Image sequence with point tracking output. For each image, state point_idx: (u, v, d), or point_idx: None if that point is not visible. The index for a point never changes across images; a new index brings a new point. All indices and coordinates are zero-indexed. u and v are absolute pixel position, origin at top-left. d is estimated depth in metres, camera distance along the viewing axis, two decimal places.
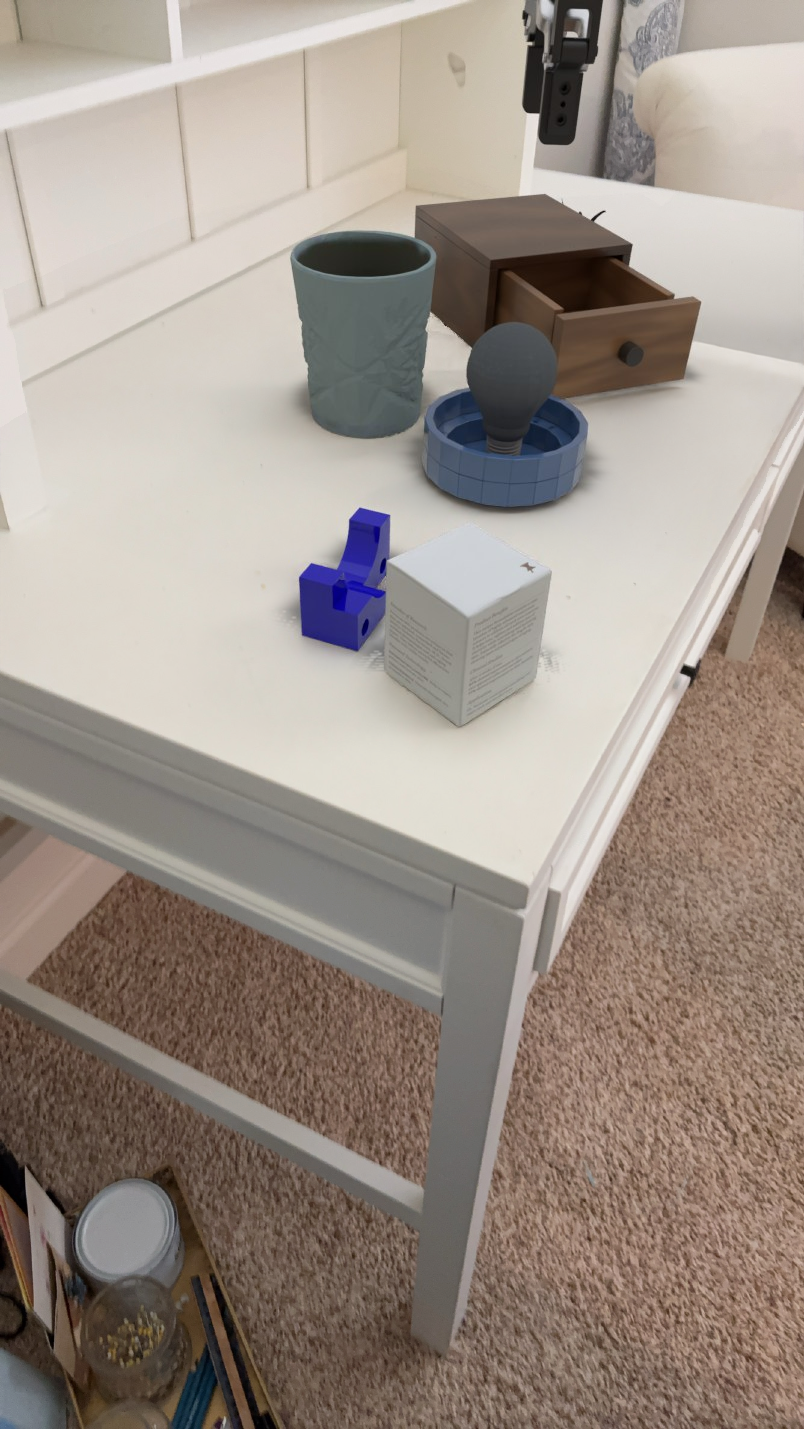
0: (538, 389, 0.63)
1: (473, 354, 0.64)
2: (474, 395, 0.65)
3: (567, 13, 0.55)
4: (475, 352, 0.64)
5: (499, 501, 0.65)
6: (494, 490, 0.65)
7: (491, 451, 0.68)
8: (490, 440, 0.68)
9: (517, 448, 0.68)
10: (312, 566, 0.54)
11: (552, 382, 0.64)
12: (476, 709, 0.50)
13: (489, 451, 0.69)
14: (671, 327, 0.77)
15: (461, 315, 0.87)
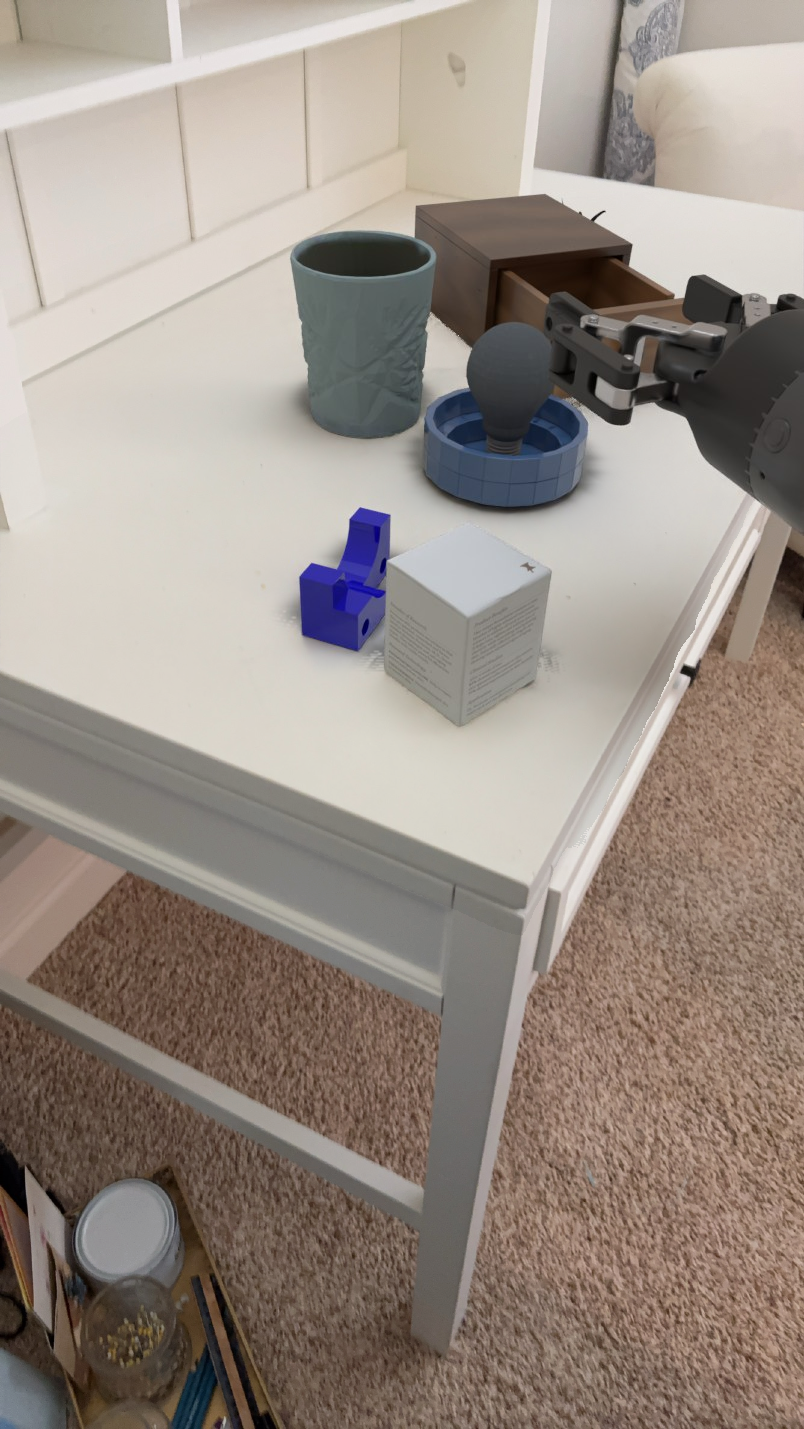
0: (538, 389, 0.63)
1: (473, 354, 0.64)
2: (474, 395, 0.65)
3: (625, 355, 0.46)
4: (475, 352, 0.64)
5: (499, 501, 0.65)
6: (494, 490, 0.65)
7: (491, 451, 0.68)
8: (490, 440, 0.68)
9: (517, 448, 0.68)
10: (312, 566, 0.54)
11: None
12: (476, 709, 0.50)
13: (489, 451, 0.69)
14: None
15: (461, 315, 0.87)
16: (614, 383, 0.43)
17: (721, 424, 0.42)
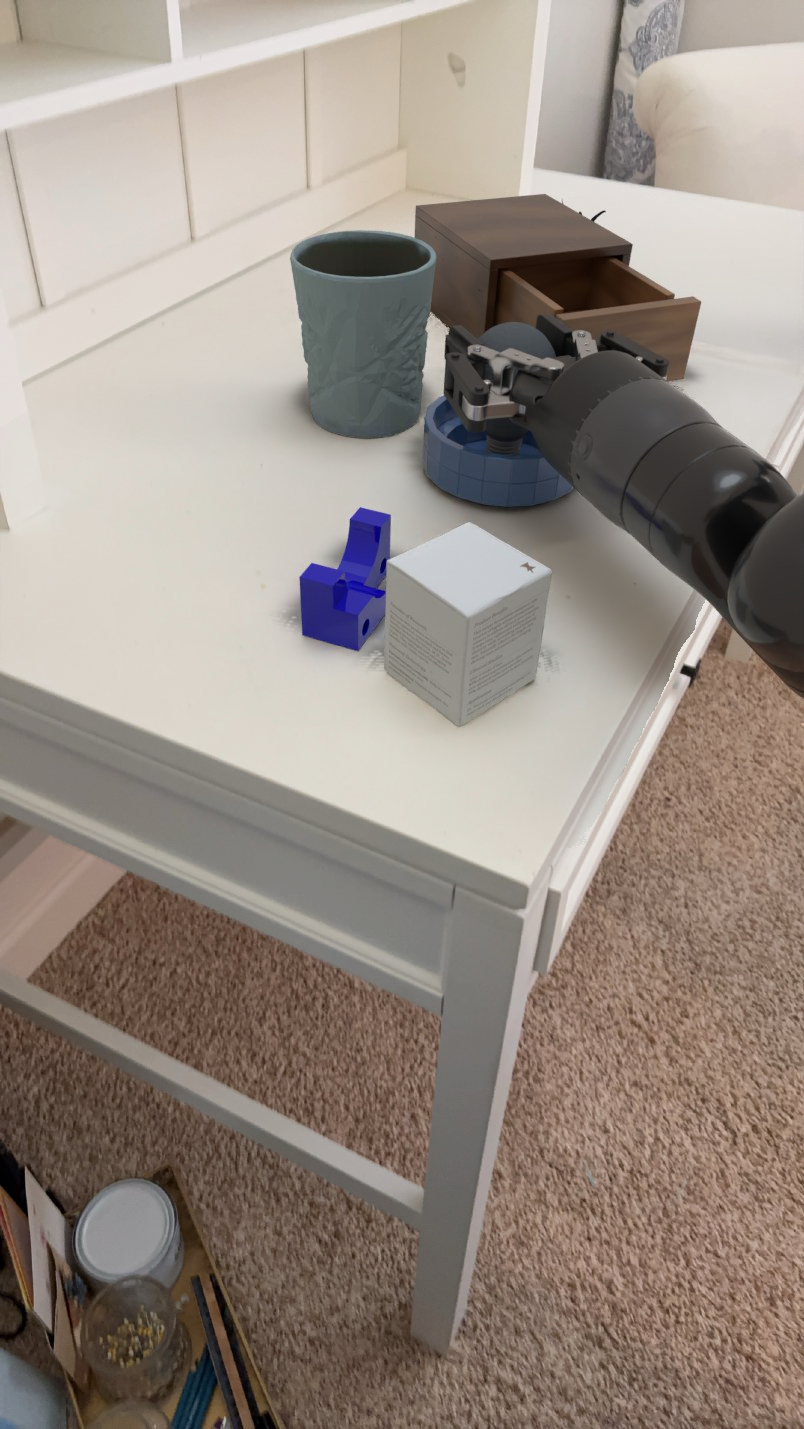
0: None
1: None
2: None
3: None
4: None
5: (499, 501, 0.65)
6: (494, 490, 0.65)
7: (491, 451, 0.68)
8: (490, 440, 0.68)
9: (517, 448, 0.68)
10: (313, 566, 0.54)
11: None
12: (476, 709, 0.50)
13: (489, 451, 0.69)
14: (671, 327, 0.77)
15: (461, 315, 0.87)
16: (468, 400, 0.57)
17: (552, 437, 0.55)
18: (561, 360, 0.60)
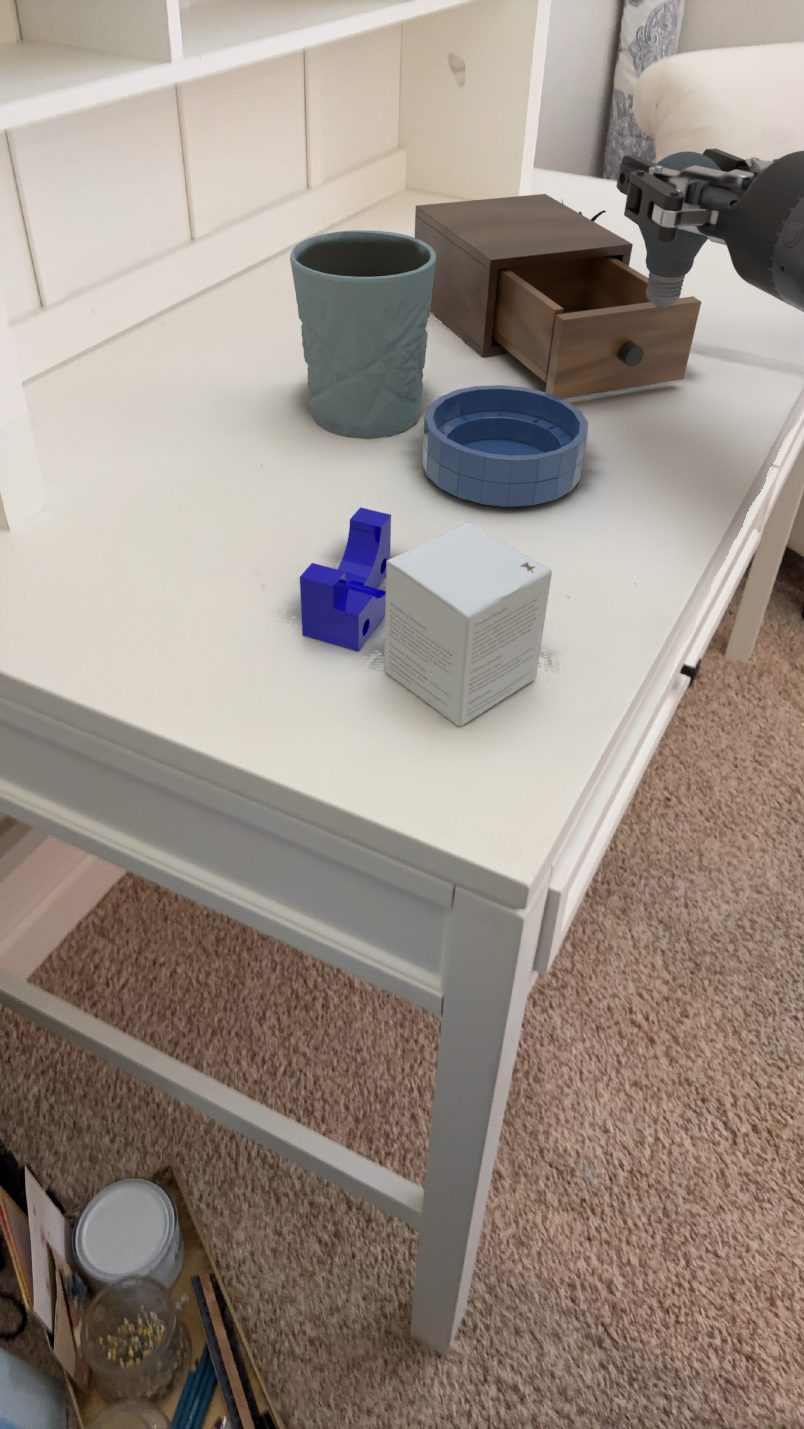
0: None
1: None
2: None
3: None
4: None
5: (499, 501, 0.65)
6: (494, 490, 0.65)
7: (653, 289, 0.70)
8: (653, 278, 0.69)
9: (679, 286, 0.69)
10: (313, 566, 0.54)
11: None
12: (476, 709, 0.50)
13: (651, 290, 0.70)
14: (671, 327, 0.77)
15: (461, 315, 0.87)
16: (663, 206, 0.58)
17: (751, 235, 0.56)
18: None
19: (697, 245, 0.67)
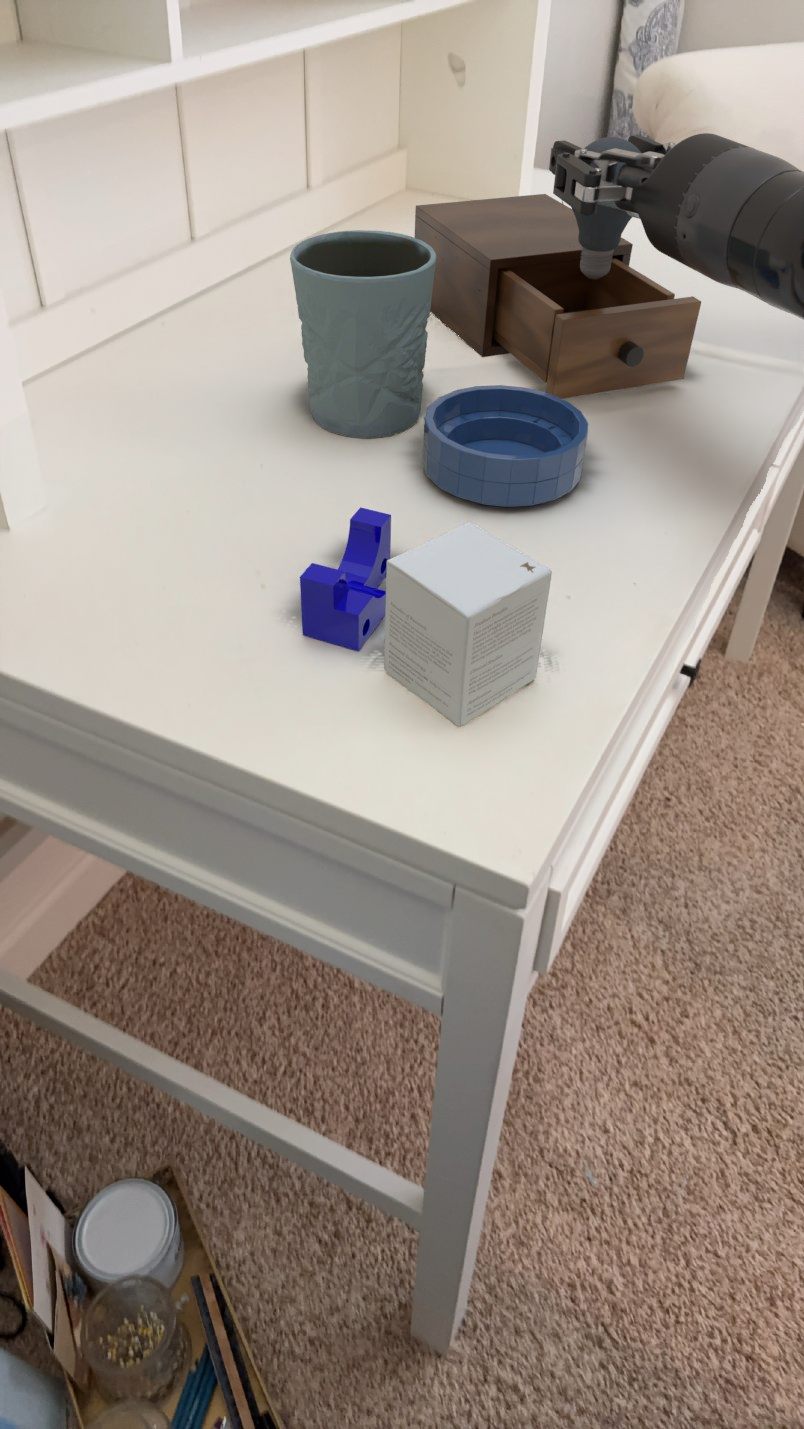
0: None
1: None
2: None
3: None
4: None
5: (499, 501, 0.65)
6: (494, 490, 0.65)
7: (585, 263, 0.77)
8: (585, 252, 0.77)
9: (609, 259, 0.77)
10: (313, 566, 0.54)
11: None
12: (476, 709, 0.50)
13: (583, 263, 0.77)
14: (671, 327, 0.77)
15: (461, 315, 0.87)
16: (583, 183, 0.65)
17: (659, 208, 0.64)
18: None
19: (622, 221, 0.74)
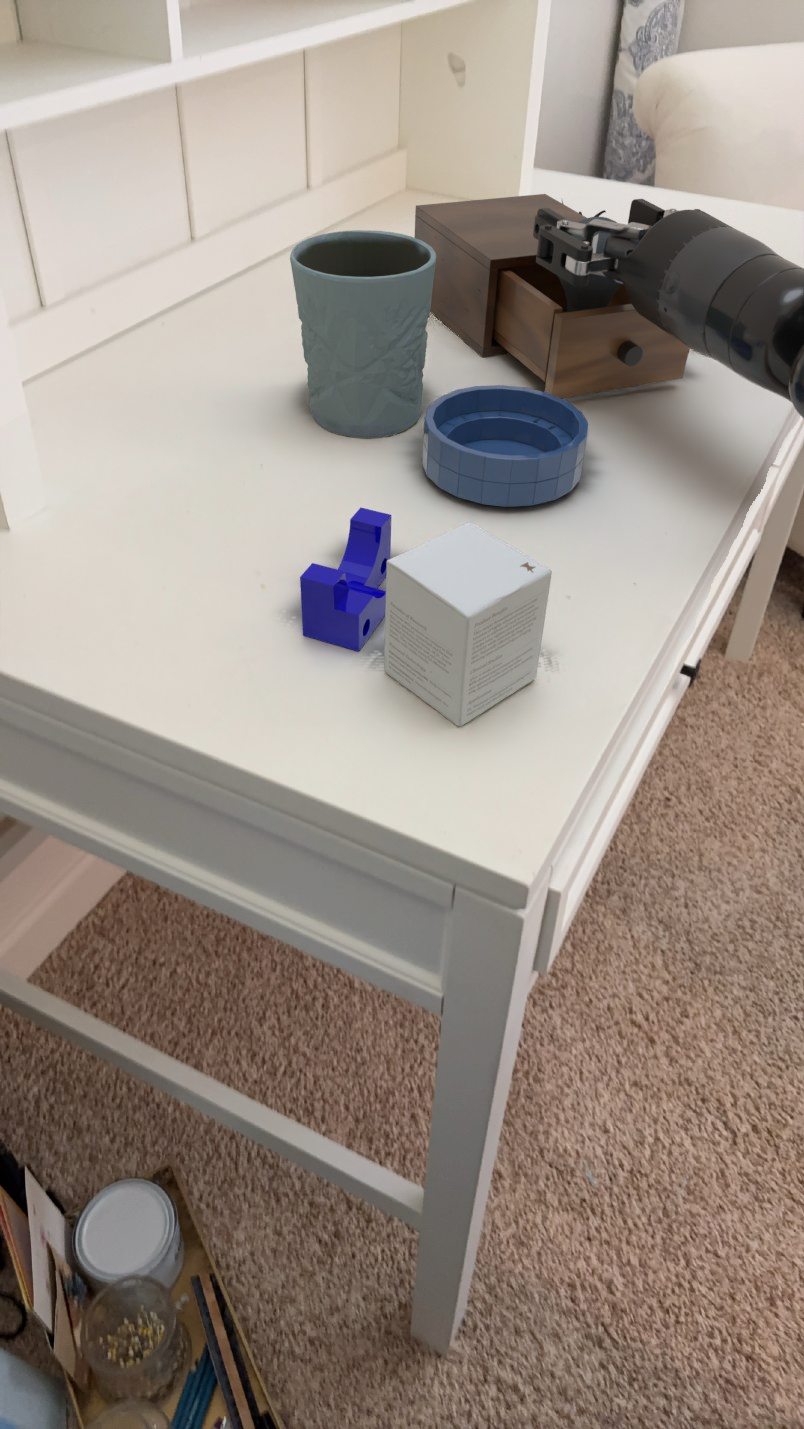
0: None
1: None
2: (563, 279, 0.78)
3: None
4: None
5: (499, 501, 0.65)
6: (494, 490, 0.65)
7: None
8: None
9: None
10: (313, 566, 0.54)
11: None
12: (476, 709, 0.50)
13: None
14: None
15: (461, 315, 0.87)
16: (576, 257, 0.68)
17: (642, 281, 0.67)
18: None
19: (608, 295, 0.78)
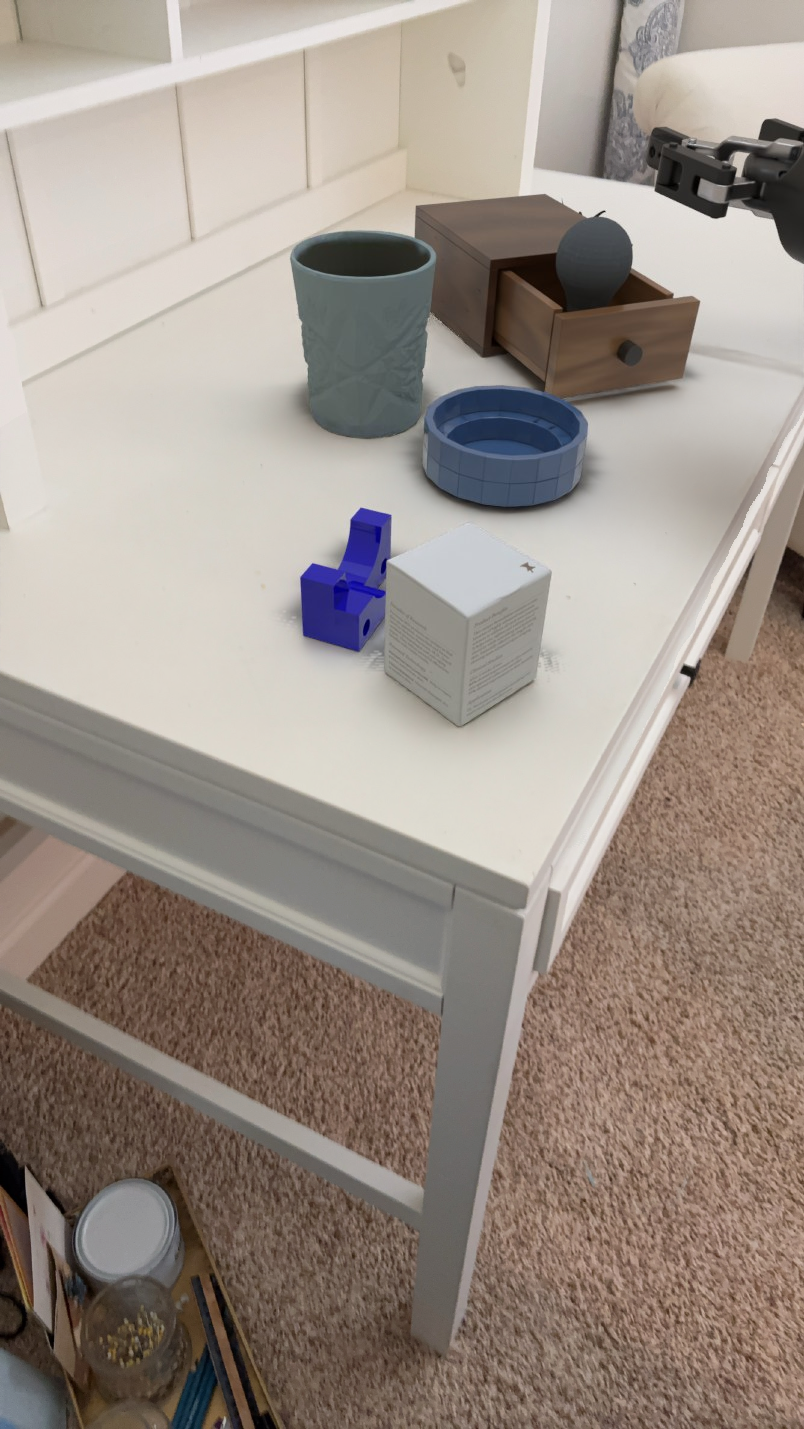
0: (618, 272, 0.76)
1: (563, 243, 0.76)
2: (563, 279, 0.78)
3: None
4: (564, 241, 0.76)
5: (499, 501, 0.65)
6: (494, 490, 0.65)
7: None
8: None
9: None
10: (313, 566, 0.54)
11: (629, 267, 0.77)
12: (476, 709, 0.50)
13: None
14: (670, 326, 0.77)
15: (461, 315, 0.87)
16: (715, 180, 0.54)
17: (802, 208, 0.53)
18: None
19: (608, 295, 0.78)
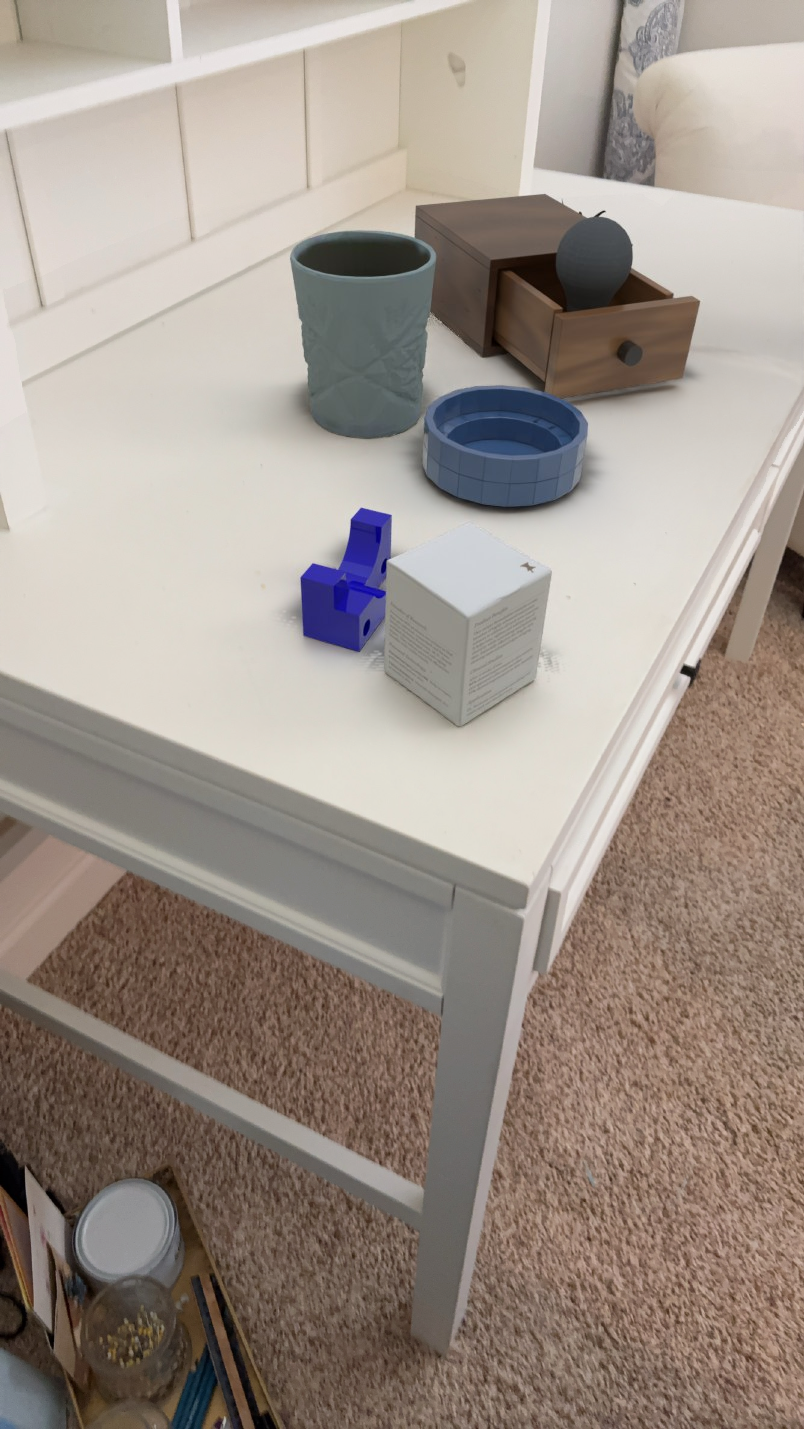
0: (618, 272, 0.76)
1: (563, 243, 0.76)
2: (563, 279, 0.78)
3: None
4: (564, 241, 0.76)
5: (499, 501, 0.65)
6: (494, 490, 0.65)
7: None
8: None
9: None
10: (314, 566, 0.54)
11: (629, 267, 0.77)
12: (476, 709, 0.50)
13: None
14: (670, 326, 0.77)
15: (461, 315, 0.87)
16: None
17: None
18: None
19: (608, 295, 0.78)
